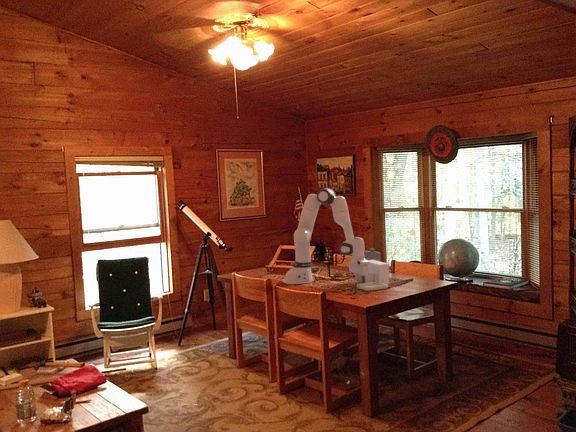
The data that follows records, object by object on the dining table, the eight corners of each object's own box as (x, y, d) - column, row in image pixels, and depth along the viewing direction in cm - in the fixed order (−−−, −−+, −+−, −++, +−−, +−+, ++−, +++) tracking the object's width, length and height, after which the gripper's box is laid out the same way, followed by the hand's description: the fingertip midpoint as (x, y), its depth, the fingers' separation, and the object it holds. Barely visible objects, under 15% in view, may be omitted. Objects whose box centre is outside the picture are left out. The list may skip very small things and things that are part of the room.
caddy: (357, 284, 377) (357, 276, 376) (354, 283, 381) (354, 275, 381) (371, 283, 381) (371, 274, 381) (367, 281, 386) (367, 273, 385)
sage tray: (366, 291, 357) (366, 287, 356) (356, 287, 367) (356, 283, 367) (388, 288, 364) (388, 284, 363) (378, 285, 374) (378, 281, 374)
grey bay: (370, 285, 372) (370, 265, 371) (355, 280, 390) (355, 261, 389) (389, 283, 378) (389, 263, 377) (373, 278, 396) (373, 259, 395)
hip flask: (362, 273, 417) (362, 247, 415) (365, 272, 420) (365, 247, 418) (378, 276, 405) (378, 249, 404) (382, 275, 408) (382, 249, 406)
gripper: (346, 258, 386) (346, 278, 388) (362, 263, 368) (362, 283, 369) (354, 258, 389) (354, 277, 390) (370, 262, 370) (370, 282, 372)
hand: (358, 280), depth 379 cm, fingers closed on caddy
